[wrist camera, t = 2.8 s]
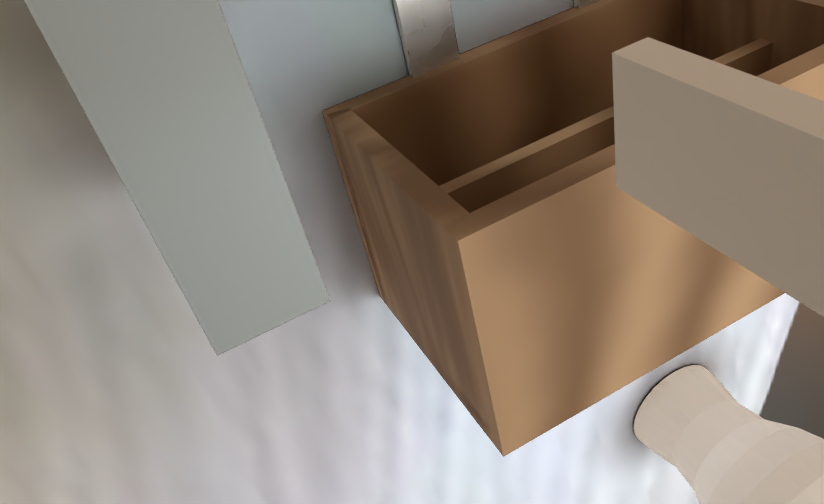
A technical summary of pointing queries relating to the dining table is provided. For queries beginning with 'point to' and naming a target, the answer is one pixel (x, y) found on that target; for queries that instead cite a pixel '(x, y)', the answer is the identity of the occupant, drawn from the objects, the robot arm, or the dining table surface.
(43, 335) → the dining table surface
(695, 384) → the cup
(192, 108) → the door
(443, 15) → the hinge clips
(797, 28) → the cabinet
